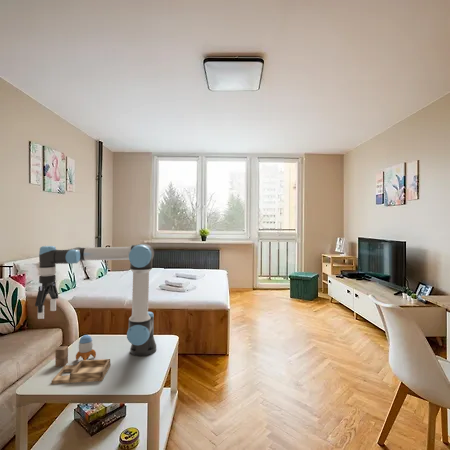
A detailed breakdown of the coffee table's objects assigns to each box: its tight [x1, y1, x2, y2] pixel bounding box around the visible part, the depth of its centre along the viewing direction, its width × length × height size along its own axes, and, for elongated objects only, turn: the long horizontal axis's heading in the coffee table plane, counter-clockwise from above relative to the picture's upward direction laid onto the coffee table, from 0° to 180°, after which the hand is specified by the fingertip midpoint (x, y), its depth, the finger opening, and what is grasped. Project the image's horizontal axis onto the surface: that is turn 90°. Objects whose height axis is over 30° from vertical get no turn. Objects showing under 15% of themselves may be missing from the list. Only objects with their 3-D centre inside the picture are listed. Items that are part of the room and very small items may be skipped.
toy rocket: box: [75, 334, 97, 361], centre depth 161 cm, size 10×11×15 cm
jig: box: [51, 358, 112, 385], centre depth 147 cm, size 23×15×4 cm, turn 97°
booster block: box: [54, 345, 69, 368], centre depth 157 cm, size 4×4×9 cm
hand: (47, 314), depth 156 cm, fingers open, 13 cm apart
